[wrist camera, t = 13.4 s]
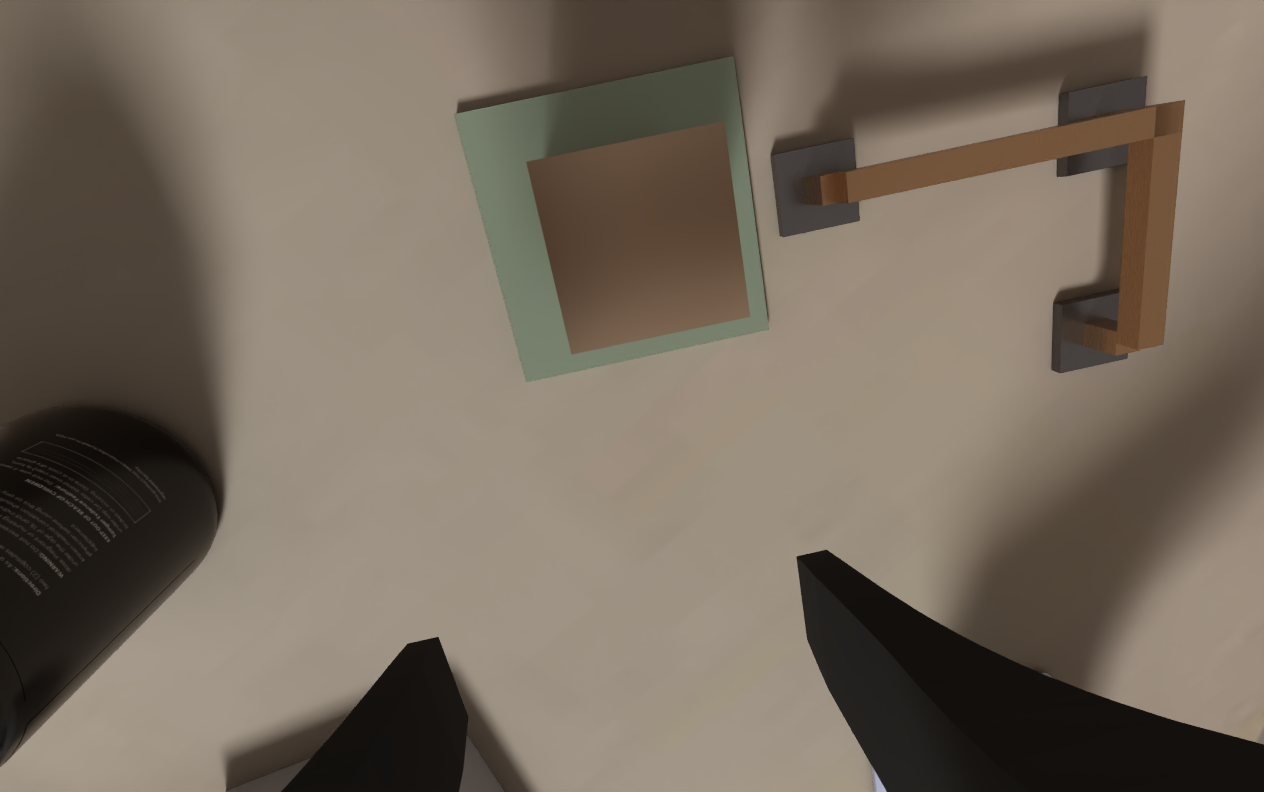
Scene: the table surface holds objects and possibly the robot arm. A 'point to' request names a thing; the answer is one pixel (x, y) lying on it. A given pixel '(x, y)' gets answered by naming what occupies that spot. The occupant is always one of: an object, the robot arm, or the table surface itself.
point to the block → (642, 237)
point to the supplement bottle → (87, 548)
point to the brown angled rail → (1083, 141)
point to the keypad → (475, 788)
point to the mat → (582, 123)
